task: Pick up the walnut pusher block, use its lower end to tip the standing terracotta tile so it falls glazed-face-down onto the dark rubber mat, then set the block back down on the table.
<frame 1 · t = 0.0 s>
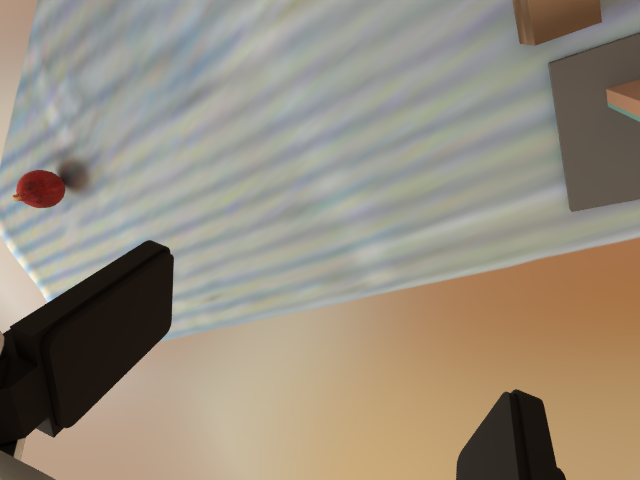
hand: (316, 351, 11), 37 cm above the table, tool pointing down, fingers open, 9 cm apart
onion: (63, 181, 64), on the table
pusher block: (540, 11, 35), on the table
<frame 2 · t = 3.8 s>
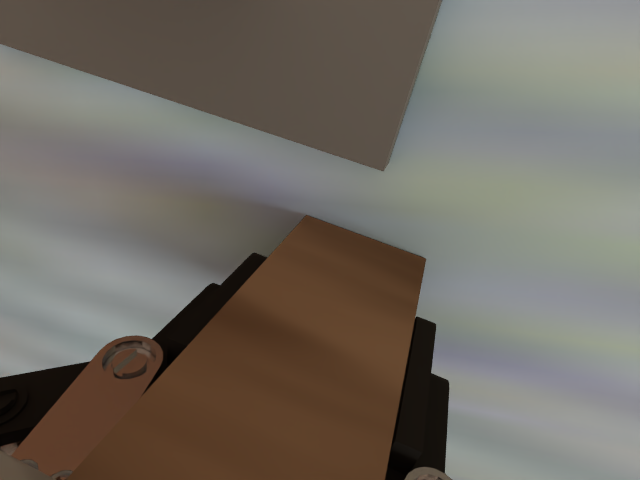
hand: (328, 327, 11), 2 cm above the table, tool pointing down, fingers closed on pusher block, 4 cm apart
pusher block: (348, 285, 13), on the table, touching gripper
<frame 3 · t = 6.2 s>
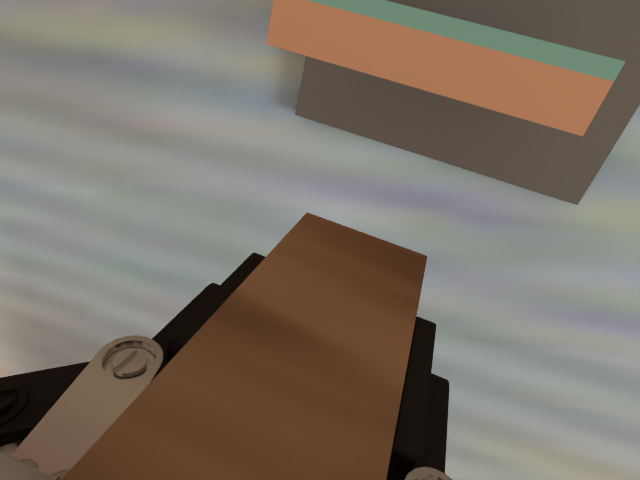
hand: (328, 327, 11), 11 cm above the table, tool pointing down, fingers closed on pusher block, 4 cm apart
tile: (442, 50, 17), point 1 cm above the table, touching mat
pusher block: (349, 283, 13), point 9 cm above the table, touching gripper
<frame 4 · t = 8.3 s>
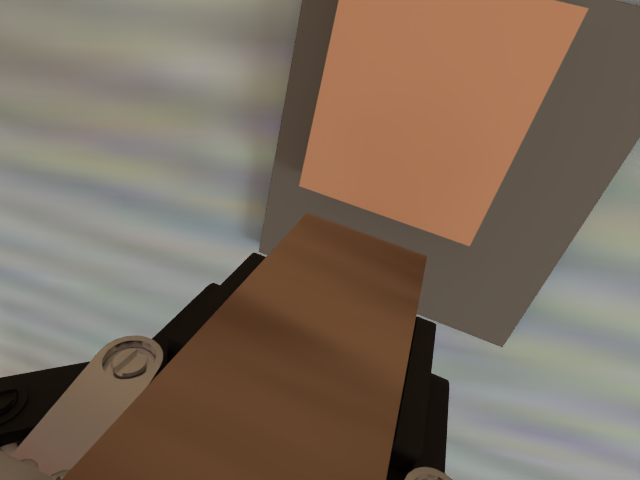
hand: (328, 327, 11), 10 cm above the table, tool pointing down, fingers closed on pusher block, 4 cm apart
mat: (423, 165, 18), on the table
tile: (384, 208, 18), point 2 cm above the table, tilted 90°, touching mat
pusher block: (349, 283, 13), point 8 cm above the table, touching gripper
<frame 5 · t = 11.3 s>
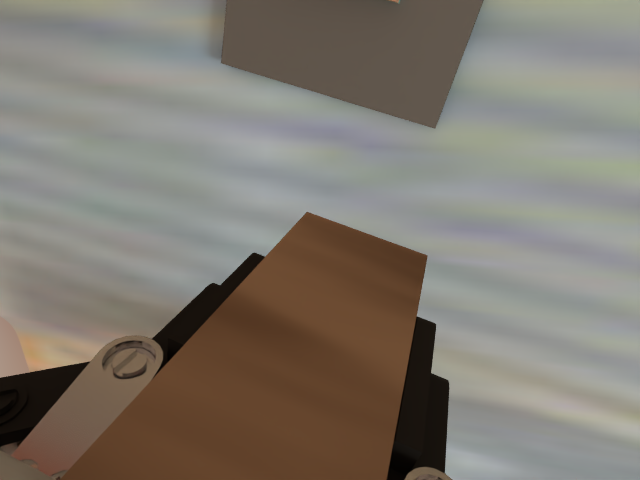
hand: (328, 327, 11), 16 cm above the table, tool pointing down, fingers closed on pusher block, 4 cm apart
pusher block: (349, 282, 13), point 14 cm above the table, touching gripper
when the fingers open (4 cm above the table, at t = 13.7 s): pusher block drops 1 cm, on the table.
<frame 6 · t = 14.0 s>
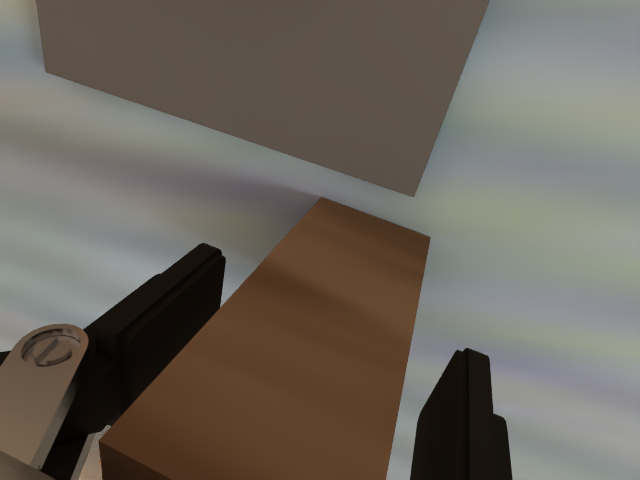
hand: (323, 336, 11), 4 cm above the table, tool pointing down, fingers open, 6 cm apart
pusher block: (358, 262, 15), on the table
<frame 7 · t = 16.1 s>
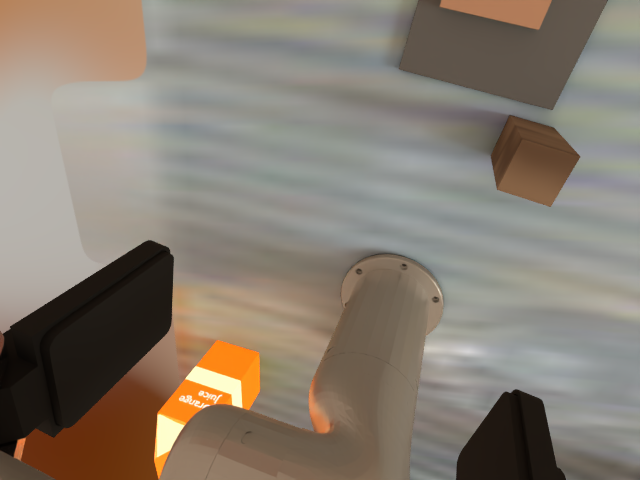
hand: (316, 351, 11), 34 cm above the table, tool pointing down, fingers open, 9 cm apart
orange juice: (239, 365, 65), on the table
tile: (487, 18, 32), point 2 cm above the table, tilted 90°, touching mat
pusher block: (521, 142, 37), on the table
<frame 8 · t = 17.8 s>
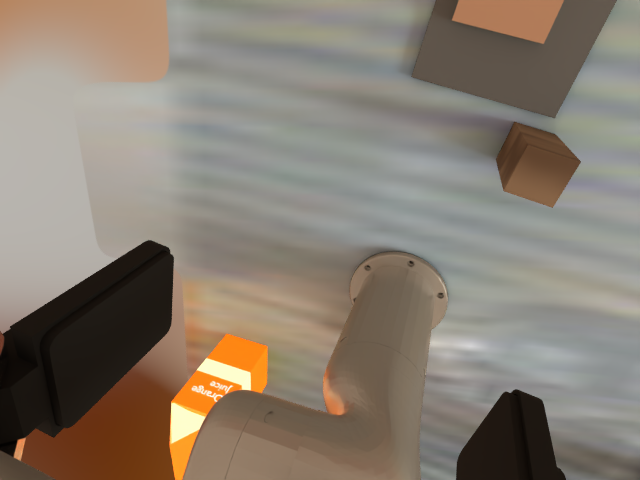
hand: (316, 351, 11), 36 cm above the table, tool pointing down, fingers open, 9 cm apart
mat: (516, 9, 35), on the table
orange juice: (247, 358, 67), on the table
tile: (496, 32, 35), point 2 cm above the table, tilted 90°, touching mat
pusher block: (524, 147, 40), on the table
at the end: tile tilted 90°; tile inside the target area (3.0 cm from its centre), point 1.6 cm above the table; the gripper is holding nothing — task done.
